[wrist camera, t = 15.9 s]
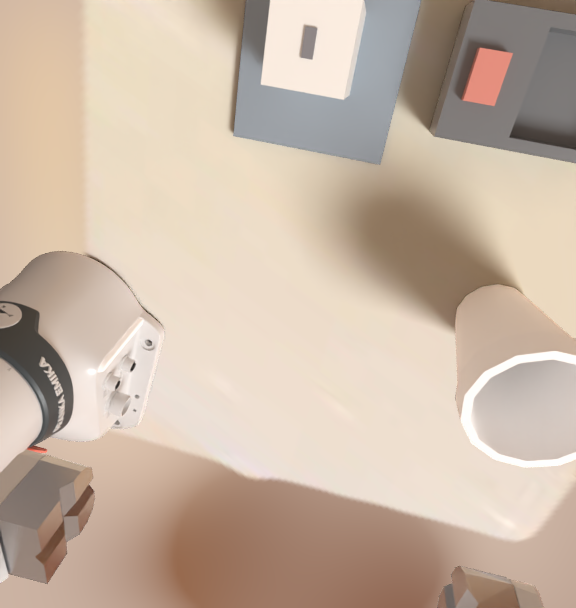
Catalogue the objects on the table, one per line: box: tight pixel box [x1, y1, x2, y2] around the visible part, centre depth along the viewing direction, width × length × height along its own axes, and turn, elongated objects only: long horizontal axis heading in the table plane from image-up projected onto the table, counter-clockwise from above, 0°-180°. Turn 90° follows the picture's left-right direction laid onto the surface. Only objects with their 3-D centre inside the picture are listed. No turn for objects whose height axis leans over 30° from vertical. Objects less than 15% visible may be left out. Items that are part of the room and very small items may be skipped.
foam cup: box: [455, 284, 576, 467], centre depth 34 cm, size 10×9×13 cm
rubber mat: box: [233, 0, 421, 165], centre depth 32 cm, size 14×12×1 cm
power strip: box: [429, 0, 576, 163], centre depth 29 cm, size 8×12×4 cm, turn 81°
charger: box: [261, 0, 366, 100], centre depth 29 cm, size 5×5×7 cm
